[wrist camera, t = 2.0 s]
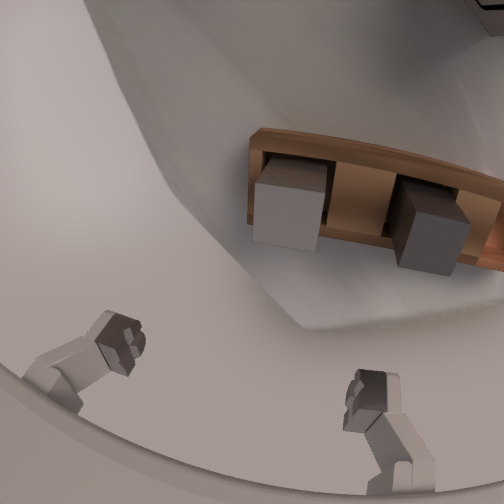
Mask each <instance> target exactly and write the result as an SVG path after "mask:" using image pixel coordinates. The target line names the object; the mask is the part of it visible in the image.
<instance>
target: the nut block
mask: <svg viewBox="0 0 504 504" xmlns="http://www.w3.org/2000/svg"><path fill="white" fill-rule="evenodd" d="M327 163H328V160H325V159H319V158H313V157H306V156H299V155H292V154H284V153H276V152H275V153H274V155H273V156H272V158H271V159H270V161H269V162H268V164H267V166H266V167H265V169H264V170H263V172H262V173H261V175H260V176H259V178H258V179H257V181H256V182H255V197H254V220H253V242H259V243H264V244H270V245H276V246H282V247H288V248H294V249H300V250H305V251H311V252H315V250H316V245H317V239H318V233H319V228H320V222H321V216H322V210H323V204H324V198H325V189H326V177H327Z"/></svg>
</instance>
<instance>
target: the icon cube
mask: <svg viewBox="0 0 504 504" xmlns="http://www.w3.org/2000/svg"><path fill="white" fill-rule="evenodd" d="M464 1H465V2H466V3H467V4H468V6H469V7H470V8H471V10H472V11H473V12H474V14H475V15H476V16H477V18H478V19H479V20H480V22H481V23H482V25H483V26H484V28H485V29H486V30H487V32H488V33H489V35H490V36H500V35H504V0H464Z"/></svg>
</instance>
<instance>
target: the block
mask: <svg viewBox="0 0 504 504" xmlns="http://www.w3.org/2000/svg"><path fill="white" fill-rule="evenodd" d="M386 220H387V224H388V227H389V231H390V235H391V239H392V243H393V247H394V251H395V256H396V260H397V265H398V267H401V268H407V269H412V270H418V271H423V272H429V273H434V274H440V275H445V276H450V275H451V273H452V271H453V269H454V266H455V264H456V262H457V260H458V258H459V255H460V253H461V251H462V248H463V246H464V244H465V241H466V239H467V236H468V234H469V231H470V229H471V226H472V224H471V223H470V221H469V220H468V218H467V217H466V215H465V214H464V212H463V211H462V210H461V208H460V207H459V205H458V204H457V203H456V201H455V200H454V199H453V197H452V196H451V194H450V193H449V192H448V190H447V189H446V188H445V187H444V185H443V184H439V183H435V182H431V181H427V180H423V179H419V178H415V177H411V176H407V175H402V174H398V173H397V174H396V178H395V182H394V187H393V191H392V195H391V199H390V203H389V207H388V210H387V214H386Z"/></svg>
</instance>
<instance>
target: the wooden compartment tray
mask: <svg viewBox="0 0 504 504" xmlns="http://www.w3.org/2000/svg"><path fill="white" fill-rule="evenodd" d="M275 152H276V153H284V154H292V155H299V156H306V157H313V158H319V159H325V160H328V163H327V177H326V189H325V198H324V204H323V210H322V216H321V222H320V228H319V233H318V236H323V237H329V238H335V239H340V240H346V241H351V242H357V243H362V244H368V245H373V246H379V247H384V248H389V249H394V247H393V243H392V239H391V235H390V231H389V227H388V224H387V220H386V214H387V210H388V207H389V203H390V199H391V195H392V191H393V187H394V182H395V178H396V174H397V173H398V174H402V175H407V176H411V177H415V178H419V179H423V180H427V181H431V182H435V183H439V184H443V185H444V187H445V188H446V189H447V190H448V192H449V193H450V194H451V196H452V197H453V199H454V200H455V201H456V203H457V204H458V205H459V207H460V208H461V210H462V211H463V212H464V214H465V215H466V217H467V218H468V220H469V221H470V223H471V224H472V226H471V229H470V231H469V234H468V236H467V239H466V241H465V244H464V246H463V248H462V251H461V253H460V255H459V258H458V260H457V262H460V263H465V264H470V265H474V266H479V267H484V268H488V269H493V270H497V271H502V272H504V181H502V180H499V179H496V178H493V177H490V176H488V175H485V174H482V173H479V172H476V171H473V170H470V169H467V168H463V167H460V166H457V165H454V164H450V163H447V162H443V161H440V160H436V159H433V158H429V157H425V156H421V155H418V154H414V153H410V152H405V151H401V150H397V149H393V148H388V147H384V146H379V145H374V144H369V143H364V142H359V141H354V140H348V139H342V138H337V137H330V136H324V135H317V134H311V133H303V132H296V131H287V130H279V129H269V128H260V129H259V130H258V131H257V132H256V133H255V134H253V135H252V136H251V137H250V154H249V183H248V213H247V224H250V225H253V220H254V197H255V182H256V181H257V179H258V178H259V176H260V175H261V173H262V172H263V170H264V169H265V167H266V166H267V164H268V162H269V161H270V159H271V158H272V156H273V155H274V153H275Z"/></svg>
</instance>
